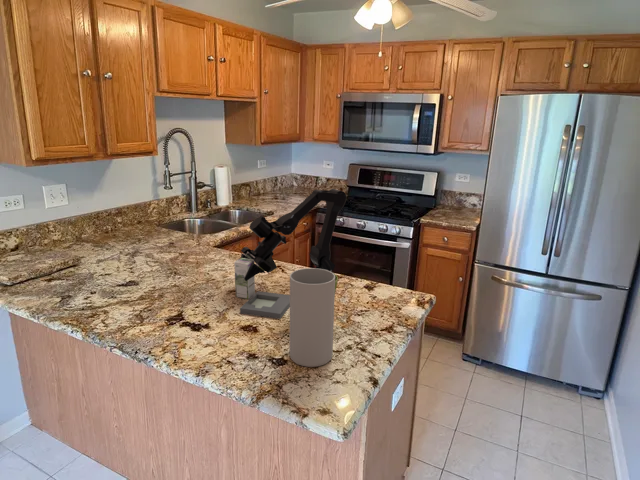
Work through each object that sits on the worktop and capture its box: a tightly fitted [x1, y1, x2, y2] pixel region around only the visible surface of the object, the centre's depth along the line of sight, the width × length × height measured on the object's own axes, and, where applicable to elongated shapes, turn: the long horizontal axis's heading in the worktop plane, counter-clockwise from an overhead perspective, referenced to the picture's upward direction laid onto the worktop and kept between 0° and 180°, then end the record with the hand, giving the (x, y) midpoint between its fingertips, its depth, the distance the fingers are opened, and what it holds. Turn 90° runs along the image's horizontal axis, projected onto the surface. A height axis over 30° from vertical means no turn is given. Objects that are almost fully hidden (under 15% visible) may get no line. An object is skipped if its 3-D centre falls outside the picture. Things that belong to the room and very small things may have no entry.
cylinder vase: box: [289, 267, 336, 368], centre depth 121 cm, size 12×12×25 cm
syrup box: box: [233, 257, 256, 300], centre depth 162 cm, size 6×6×14 cm
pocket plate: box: [239, 290, 290, 320], centre depth 155 cm, size 15×16×2 cm
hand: (241, 276), depth 161 cm, fingers closed on syrup box, 8 cm apart
